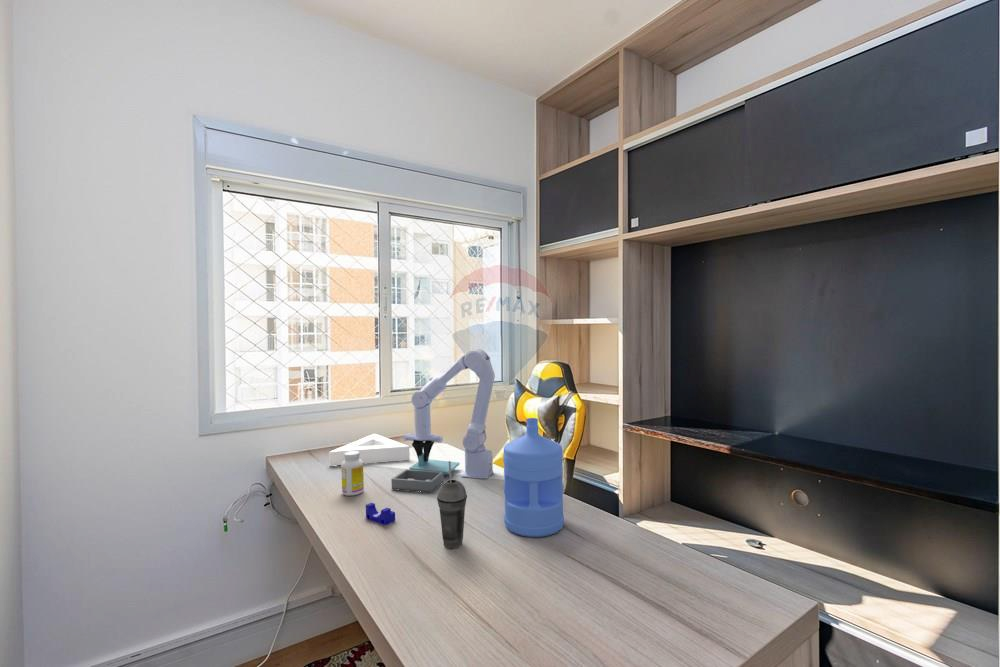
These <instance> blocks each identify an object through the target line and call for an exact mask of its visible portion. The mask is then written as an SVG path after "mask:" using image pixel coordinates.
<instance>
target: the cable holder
mask: <svg viewBox="0 0 1000 667" xmlns="http://www.w3.org/2000/svg"><path fill="white" fill-rule="evenodd" d="M365 519H367V520H370V521H371V522H375V523H377V524H380V525H383V526H387V525H389V524H391V523H393V521H394V522H395V521H396V512H395V511H392V509H391V507H390V508H389V507H385V508H383V509H381V511H380V513H379V511H378V509H377V508H376V503H374V502H369V503H367V504H365Z"/></svg>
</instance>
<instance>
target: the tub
mask: <svg viewBox="0 0 1000 667" xmlns="http://www.w3.org/2000/svg"><path fill="white" fill-rule="evenodd" d="M444 476H445V475H443V472H435V471H421V470H409V469H404V470H402V471H401V472H399V474H397V475H395V476H394V477H392V478H391V490H392V489H399V490H398V491H401V490H409V491H408V492H412V491H419V492H418V493H424V492H431V493H430V494H432V493H434V492H435V491H436V490H437V489H438V488H439V487H440V486H441V485H442V484H443V482H445V481H444V480H445V478H444ZM441 483H442V484H441ZM440 484H441V485H440ZM439 485H440V486H439ZM438 486H439V487H438ZM437 487H438V488H437ZM436 488H437V489H436ZM435 489H436V490H435ZM434 490H435V491H434ZM420 491H421V492H420Z"/></svg>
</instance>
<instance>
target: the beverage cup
mask: <svg viewBox="0 0 1000 667" xmlns="http://www.w3.org/2000/svg"><path fill="white" fill-rule="evenodd" d="M451 462H452V461H451V460H449V474H448V476H449V477H448V478H449V479H447V480H446V481H444V483H442V484H441V485H440V486H439V487H438V491H437V497H436V499H437V504H438V507H439V516H440V524H441V525H440V526H441V534H442V542H443V547H444V546H445V547H447V548H446V549H448V548H456V549H459V548H461V547H462V546H463V540H464V530H465V511H466V510H465V509H466V503H467V498H468V494H467V491H466V488H465V486H464V484H463V483H461V482H460V481H459V480H456V479H452V472H451ZM460 546H461V547H460ZM445 547H444V548H445ZM458 547H459V548H458Z"/></svg>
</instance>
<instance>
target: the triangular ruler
mask: <svg viewBox="0 0 1000 667" xmlns="http://www.w3.org/2000/svg"><path fill="white" fill-rule="evenodd" d="M349 451H359V453H360V456H359V459H361V460H362V461H363V463H374V464H376V463H375V462H386V463H388V462H387V461H399V462H404V461H403V460H410V459H411V457H410V456H411V454H410V453H411V452H410V445H407V444H405V443H402V442H399V441H396V440H394V439H390V438H388V437H385V436H383V435H380V434H378V433H377V434H376V433H372V434H370V435H367V436H365V437H362V438H360V439H358V440H356V441H353V442H349V443H347V444H345V445H343V446H340V447H337V448H335V449H333V450H331V451H329V452H328V457H329V458H328V463H329V466H333V465H341V464H342V462H343V461H345V458H344V453H346V452H349ZM410 461H411V460H410Z"/></svg>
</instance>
